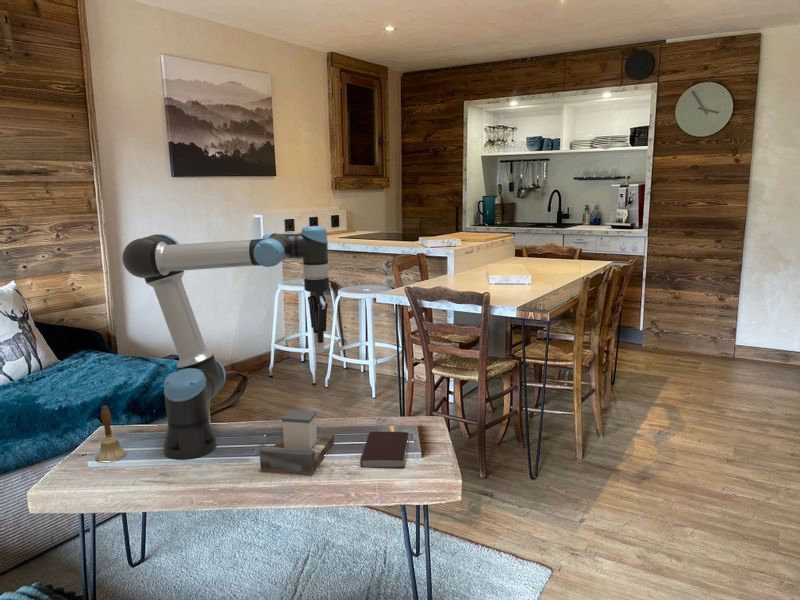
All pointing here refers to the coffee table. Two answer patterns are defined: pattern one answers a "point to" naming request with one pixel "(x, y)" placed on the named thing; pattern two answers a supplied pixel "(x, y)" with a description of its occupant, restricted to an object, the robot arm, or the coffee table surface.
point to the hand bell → (109, 440)
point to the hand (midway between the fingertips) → (319, 351)
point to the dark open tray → (295, 457)
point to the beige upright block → (299, 429)
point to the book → (385, 450)
